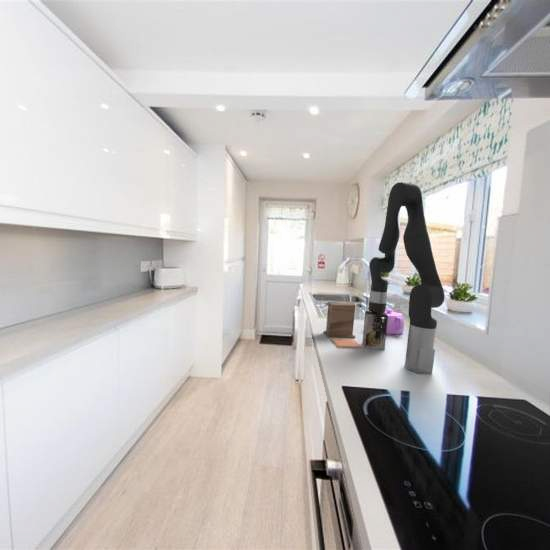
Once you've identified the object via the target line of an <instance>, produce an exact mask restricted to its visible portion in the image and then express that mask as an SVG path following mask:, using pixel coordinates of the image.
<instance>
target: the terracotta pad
mask: <svg viewBox="0 0 550 550" xmlns="http://www.w3.org/2000/svg"><path fill="white" fill-rule="evenodd" d="M330 340H331V342H333V343H335V344H336V345H335V344H334V345H335V346H336V347H337V348H339V349H363V345H361V344H360V343H358V342H357V341H356V340H355V338H330Z"/></svg>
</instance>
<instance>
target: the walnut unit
mask: <svg viewBox="0 0 550 550" xmlns="http://www.w3.org/2000/svg"><path fill="white" fill-rule="evenodd" d="M355 313H356V304H353V303H351V302H340V301H339V302H337V301H336V302H335V301H334V302H333V301H328V303H327V316H326V326H325V327H326V329H325V330H323V334H324V335H325V336H326V337H327V338H330V339H331V338H342V339H356V335H354V325H355V324H354V323H355Z"/></svg>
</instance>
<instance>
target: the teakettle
mask: <svg viewBox="0 0 550 550" xmlns="http://www.w3.org/2000/svg"><path fill="white" fill-rule="evenodd" d="M385 313H386V314H387V315H388V320H387V330H386V336H393V335H403V334H404V329H405V322H404V321H405V318H404V314H403V313H400V312H399V313H398V312H396V311H395V312H394V311H393V309H391V308H387V309H386V311H385Z"/></svg>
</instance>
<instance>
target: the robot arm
mask: <svg viewBox="0 0 550 550" xmlns="http://www.w3.org/2000/svg"><path fill="white" fill-rule="evenodd" d="M422 194H423V193H422V191H421V187H419V186H418V185H417V184H415V183H411V182H409V183H408V182H403V181H402V182H396V183H394V185H393V186H391V189H390V191H389V195H388V200H387V201H388V202H387V206H386V207H387V208H386V214H385V222H384V228H383V231H382V235H381V238H380V242H379V246H378V251H379V252H380V253H382V254H384V256H382V257H380V256H375V257H372V258H371V259H370V261H369V264H368V267H369V273H370V279H371V285H370V293H369V301H368V308H367V309H368V310H367V311H372V312H374V313H375V314H377V321H378V320H379V324H377V323H376V321H375V326H376V335H375V338H376V339H380V338H381V331H384V330H385V323H386V318H383V317H382V313H384V312H385V311H386V308H387V301H388V300H387V299H388V285H389V282H388V279H386V278H384V277H382V276H381V274H390V273H391V272H392V271H393V269H394V268H395V263H396V262H395V261H396V259H395V257H396V249H397V246H398V242H399V240H400V236H401V232H400V226H399V213H400V211H401V207H405V210H406V213H407V214H406V215H407V224H406V227H405V229H404V233H403V237H402V240H403V244H404V250H405V253H406V256H407V257H408V259H409V261H410V262H411V264H412V265H413V267H414V268H415V269H416V272H417V273H418V275H419V279H420V283H419V284H416V285H414V286H413V287H412V288H411V290H410V292H409V293H410V294H409V298H408V299H409V300H408V301H409V302H408V318H409V325H408V326H409V328H408V334H407V342H406V350H405V351H406V353H405V359H404V361H405V362H404V367H405V368H406V369H407V370H409V371H412V372H414V373H416V374H432V375H433V370H434V369H433V368H434V362H435V361H434V360H435V355H436V354H435V353H436V349H435V341H436V333H437V325H438V321H437V319H435V318H433V316H432V309H435V308H436V309H437V308H440V307H441V306H442V305H443V304H444V301H445V291H444V288H443V284H442V282H441V280H440V277H439V274H438V270H437V266H436V263H435V257H434V254H433V250H432V249H433V248H432V246H431V244H432V243H431V240H430V236H429V232H428V229H427V222H426V217H425V212H424V202H423V195H422ZM382 326H383V328H382Z"/></svg>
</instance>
